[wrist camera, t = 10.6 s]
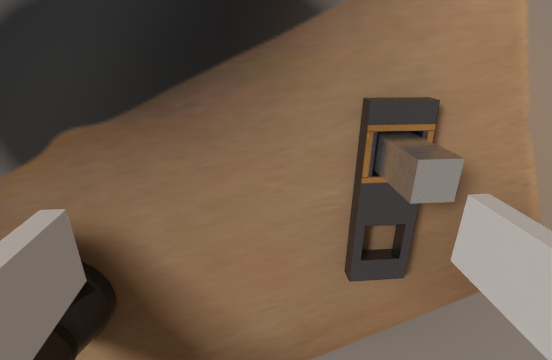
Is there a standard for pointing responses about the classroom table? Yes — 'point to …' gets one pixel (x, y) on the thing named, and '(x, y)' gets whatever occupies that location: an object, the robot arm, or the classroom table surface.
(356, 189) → the peg insertion base
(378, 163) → the square gray post
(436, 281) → the classroom table surface
